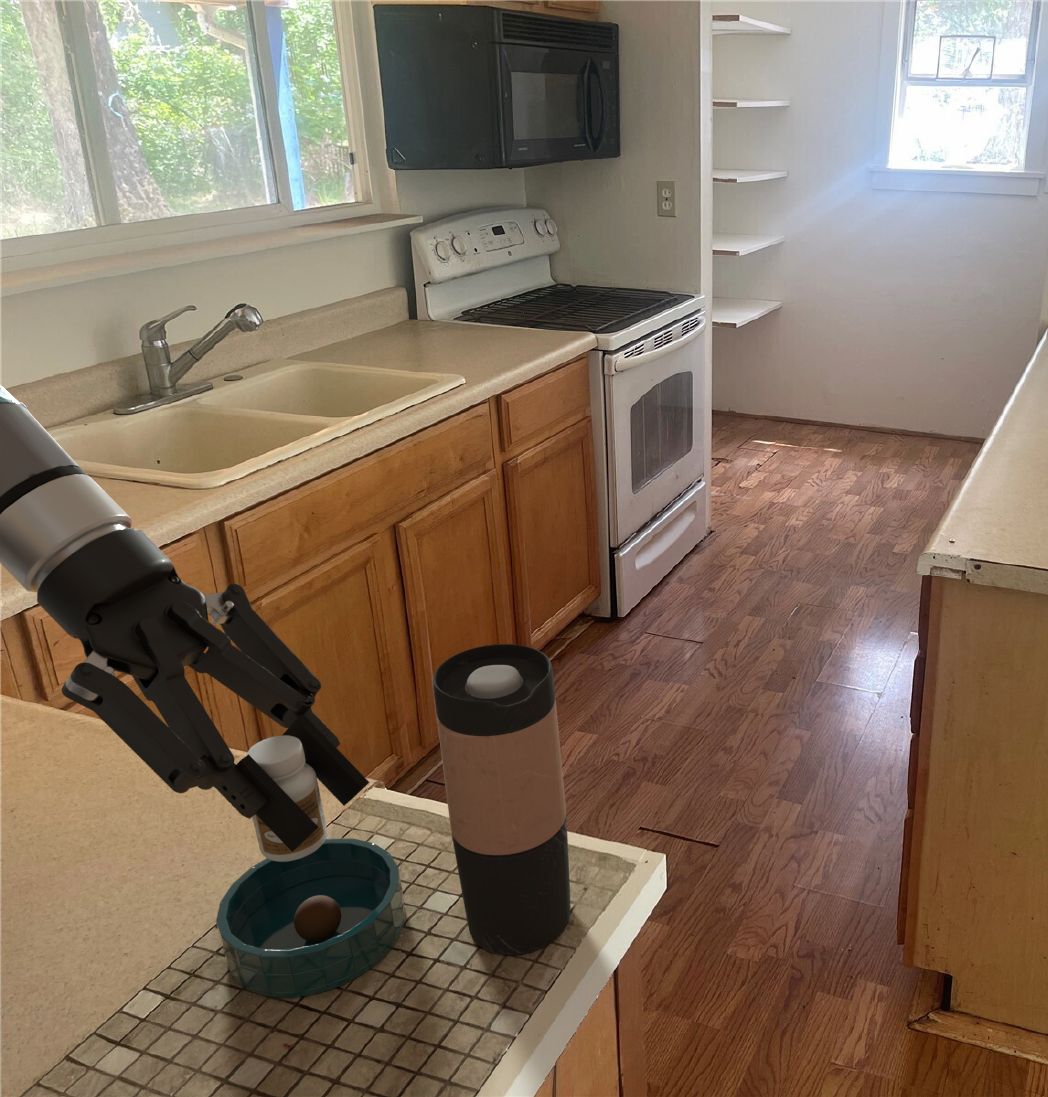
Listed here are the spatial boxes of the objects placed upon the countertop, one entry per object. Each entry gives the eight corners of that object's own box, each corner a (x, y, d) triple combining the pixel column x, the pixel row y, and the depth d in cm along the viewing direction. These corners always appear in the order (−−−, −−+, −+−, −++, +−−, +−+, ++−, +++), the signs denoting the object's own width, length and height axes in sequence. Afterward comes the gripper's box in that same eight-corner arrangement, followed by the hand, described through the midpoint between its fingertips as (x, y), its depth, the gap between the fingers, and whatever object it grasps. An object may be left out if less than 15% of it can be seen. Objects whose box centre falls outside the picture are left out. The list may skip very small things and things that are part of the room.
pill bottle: (266, 872, 69) (244, 775, 66) (255, 836, 72) (233, 743, 69) (334, 849, 71) (315, 754, 68) (320, 815, 74) (302, 724, 71)
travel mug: (492, 875, 77) (463, 637, 69) (589, 889, 75) (571, 648, 68) (445, 950, 70) (407, 695, 62) (551, 966, 68) (526, 708, 61)
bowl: (248, 1027, 64) (237, 984, 63) (212, 918, 73) (201, 879, 71) (428, 946, 70) (422, 906, 69) (375, 855, 79) (369, 818, 78)
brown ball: (304, 958, 69) (296, 923, 68) (293, 931, 71) (285, 897, 70) (349, 939, 70) (343, 904, 69) (337, 913, 73) (330, 879, 71)
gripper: (171, 544, 77) (386, 769, 78) (-63, 650, 62) (208, 927, 63) (211, 484, 73) (436, 722, 75) (-27, 582, 58) (260, 877, 59)
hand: (331, 815), depth 69 cm, fingers closed on pill bottle, 4 cm apart
